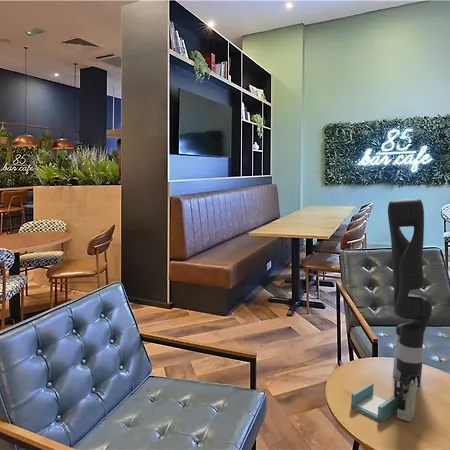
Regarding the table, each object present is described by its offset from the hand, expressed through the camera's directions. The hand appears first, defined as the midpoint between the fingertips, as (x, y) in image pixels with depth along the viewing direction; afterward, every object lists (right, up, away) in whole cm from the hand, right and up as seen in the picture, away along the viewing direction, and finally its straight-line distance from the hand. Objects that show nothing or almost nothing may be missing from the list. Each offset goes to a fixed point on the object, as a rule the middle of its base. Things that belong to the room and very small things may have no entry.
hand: (406, 404), depth 136 cm
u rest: (-8, -3, +5) cm, 11 cm away
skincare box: (0, -4, +1) cm, 4 cm away
